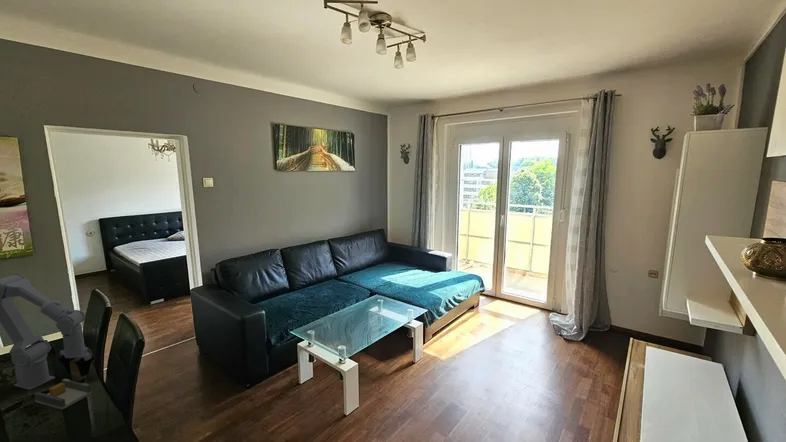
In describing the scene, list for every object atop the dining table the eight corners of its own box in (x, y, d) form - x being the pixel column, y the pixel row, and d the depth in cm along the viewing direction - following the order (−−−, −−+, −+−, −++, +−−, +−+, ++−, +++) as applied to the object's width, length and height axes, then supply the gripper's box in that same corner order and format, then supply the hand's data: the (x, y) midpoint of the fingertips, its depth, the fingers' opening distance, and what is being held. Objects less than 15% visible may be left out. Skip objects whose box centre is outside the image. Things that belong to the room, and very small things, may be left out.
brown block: (69, 381, 131) (66, 362, 130) (81, 375, 135) (78, 357, 133) (76, 382, 130) (74, 364, 129) (88, 376, 133) (85, 358, 132)
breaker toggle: (50, 396, 120) (48, 388, 120) (62, 389, 124) (61, 382, 123) (53, 397, 120) (52, 389, 119) (65, 390, 123) (64, 383, 123)
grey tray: (35, 402, 118) (33, 393, 118) (65, 387, 127) (64, 378, 127) (62, 409, 115) (60, 400, 114) (91, 393, 123) (90, 384, 123)
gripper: (98, 339, 132) (102, 370, 134) (73, 334, 136) (77, 365, 137) (77, 348, 125) (82, 381, 127) (51, 343, 129) (56, 374, 131)
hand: (78, 373), depth 132 cm, fingers open, 7 cm apart
